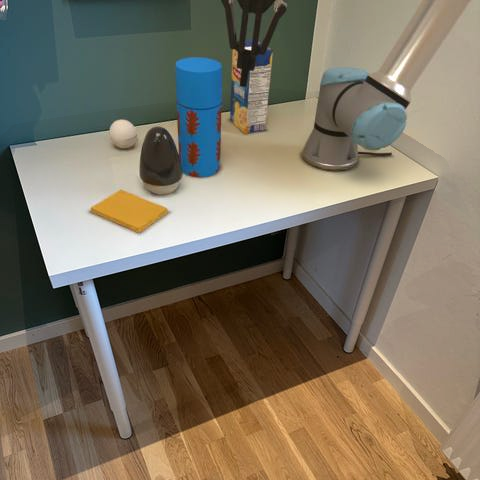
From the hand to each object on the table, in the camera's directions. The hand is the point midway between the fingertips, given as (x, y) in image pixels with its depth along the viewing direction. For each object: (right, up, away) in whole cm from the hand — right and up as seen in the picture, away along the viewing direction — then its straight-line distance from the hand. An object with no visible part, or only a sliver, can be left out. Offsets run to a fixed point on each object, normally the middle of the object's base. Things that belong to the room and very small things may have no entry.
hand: (243, 83), depth 102 cm
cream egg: (-32, -3, +29) cm, 43 cm away
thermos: (-11, -11, +22) cm, 27 cm away
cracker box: (+2, +9, +43) cm, 44 cm away
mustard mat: (-26, -27, +5) cm, 38 cm away
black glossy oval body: (-20, -19, +13) cm, 31 cm away
